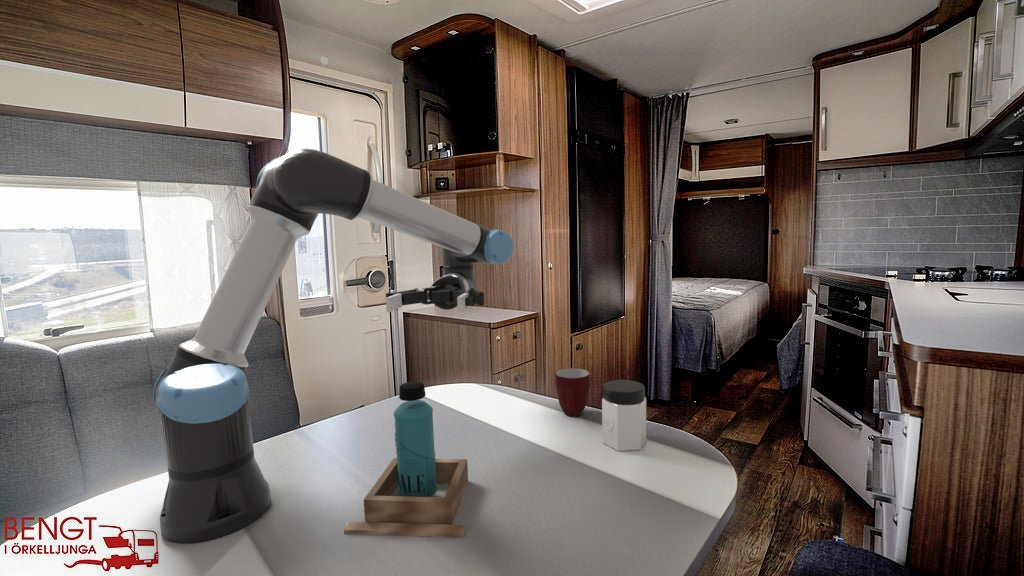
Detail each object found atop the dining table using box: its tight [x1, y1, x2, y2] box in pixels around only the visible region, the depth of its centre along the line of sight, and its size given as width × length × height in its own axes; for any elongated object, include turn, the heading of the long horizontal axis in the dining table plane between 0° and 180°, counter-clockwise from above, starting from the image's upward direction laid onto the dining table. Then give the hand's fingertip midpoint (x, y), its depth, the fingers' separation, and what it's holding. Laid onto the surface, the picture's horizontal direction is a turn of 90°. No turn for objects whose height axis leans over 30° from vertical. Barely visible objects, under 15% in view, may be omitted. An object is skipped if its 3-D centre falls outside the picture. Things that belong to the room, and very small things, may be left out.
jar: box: [601, 379, 647, 452], centre depth 98 cm, size 9×8×12 cm
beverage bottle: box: [393, 381, 438, 497], centre depth 78 cm, size 6×7×20 cm
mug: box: [554, 367, 591, 418], centre depth 113 cm, size 10×8×10 cm
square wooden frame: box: [343, 457, 469, 538], centre depth 78 cm, size 18×16×4 cm
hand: (423, 304), depth 89 cm, fingers open, 13 cm apart
